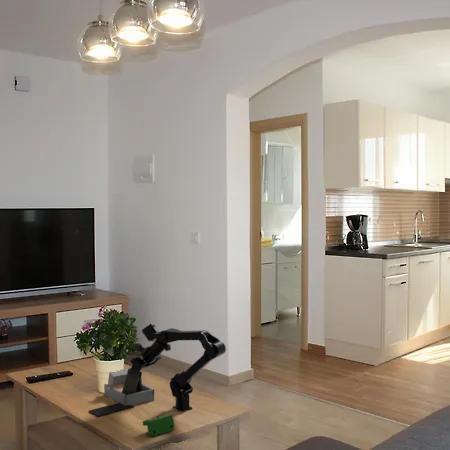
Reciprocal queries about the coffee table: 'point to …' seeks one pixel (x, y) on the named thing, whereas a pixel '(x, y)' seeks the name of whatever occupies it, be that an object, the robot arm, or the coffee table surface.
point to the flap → (117, 379)
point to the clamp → (159, 425)
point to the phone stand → (132, 383)
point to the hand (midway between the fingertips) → (135, 371)
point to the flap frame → (130, 395)
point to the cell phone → (110, 409)
